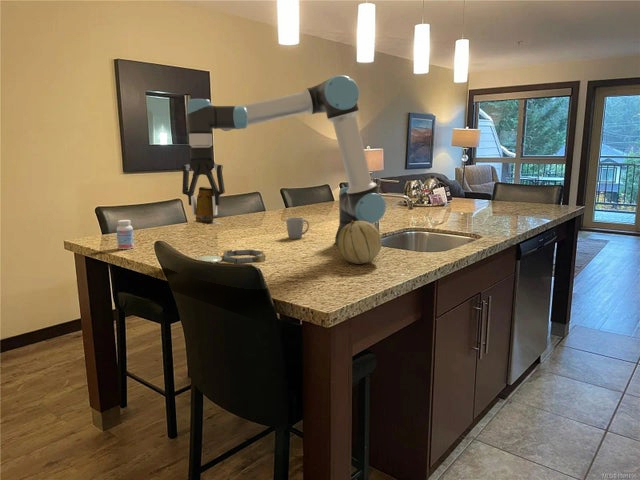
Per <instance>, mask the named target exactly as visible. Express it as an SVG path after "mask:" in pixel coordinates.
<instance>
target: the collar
mask: <svg viewBox="0 0 640 480" xmlns="http://www.w3.org/2000/svg"><path fill="white" fill-rule="evenodd" d="M237 255H239V256H240V255H241V256H242V255H253V256H252V257H251V256H249V257H234V256H237ZM223 261H224V262H228V263H235V264H241V263H244V264H245V263H254V262H258V263H259V262H260V263H261V262H264V261H266V254H265V253H264V251H262V250H256V249H238V250H232V249H230V248H229V249H228V248H227V249H224V250H223Z"/></svg>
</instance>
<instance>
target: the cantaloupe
mask: <svg viewBox="0 0 640 480" xmlns="http://www.w3.org/2000/svg"><path fill="white" fill-rule="evenodd" d="M382 243H383V242H382V236H381V234H380V232H379V230H378V228H377V227H376V226H374V225H373V224H371V223H369V222H367V221H351V223H349V224H347V225H346V226H345V227H344V228H343V229H342V230H341V231H340V233H339V236H338V244H337V246H338V247H337V248H338V251H339V252H340V254H341V256H342V257H343V258H344V259H345V260H346V261H348V262H349V263H352V264H357V265H361V264H362V265H363V264H367V263H370V262H372V261H374V259H375V258H377V257H378V255H379V253H380V251H381V248H382Z"/></svg>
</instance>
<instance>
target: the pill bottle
mask: <svg viewBox="0 0 640 480" xmlns="http://www.w3.org/2000/svg"><path fill="white" fill-rule="evenodd" d="M117 224H118V226H117V227H116V240H117V248H118V249H119V250H120V249H123V251H124V249H127V250H132V249H131V248H133V249H134V248H135V240H134V239H135V238H134V228H133V226H132V225H131V219H120V220H117Z"/></svg>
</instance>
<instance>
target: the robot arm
mask: <svg viewBox="0 0 640 480" xmlns="http://www.w3.org/2000/svg"><path fill="white" fill-rule="evenodd" d="M359 97H360V90H359V86H358V84H357V82H356V81H354V79H353V78H351V77H349V76H347V75H343V74H342V75H334V76H332V77H330V78H328V79H326V80H324V81H322V82H321V83H318V84H317V85H314V86H312V87H307V88H304V89H303V91H302V92H297V93H293V94H288V95H283V96H279V97H275V98H269V99H265V100H261V101H257V102H256V101H255V102H252V103H251V102H250V103H248V104H242V105H212V103H211V100H210V99H208V98H191V99H189V100H187V123H188V124H187V125H188V136H189V137H188V139H189V141H188V142H189V146H190V148H189V157H190V160H189V163H187V164H183V165H181V169H182V170H181V171H182V191H181V193H182V194H183V195H185V196H187V197H188V198H187V199H188V206H191V215H192V216H196V207H197V196H196V195H195V190H196V186H197V183H198V180H199V177H200V175H201V176H202V175H203V176H205V177H206V178H207V179H208V182H209V185H210V188H212V190H213V192H214V196H212V200H213V215H214V216H217V215H218V214H219V213H218V206H220V203H221V201H220V200H221V197H220V196H221V195H223V194H225V193H226V191H225V189H226V188H225V184H224V178H223V168H224V166H223V164H217V163H215V161H214V148H213V147H212V146H213V130H214V129H215V130H216V129H217V130H219V129H220V130H221V131H224V132H228V131H232V130H244V129H247V127H248V126H252V125H257V124H262V123H267V122H271V121H275V120H281V119H283V118H289V117H293V116H297V115H303V114H308V115H314V114H321V113H322V114H323V113H326V118H327V120H328V121H330V122H331V123H332V125H333V128H334V132H335V137H336V139H337V145H338V149H339V152H340V156H341V160H342V163H343V168H344V171H345V176H346V180H347V182H348V183H347V184H348V186H347V187H341V188H340V189H339V194H338V202H339V203H338V205H339V208H338V209H339V211H338V212H339V213H338V215H339V217H338V219H339V224H338V226H337V227H338V228H337V230H336V231H337V232H336V234H335V237H334V243H335V244H336V245H338V236H339V233H340V231H341V230H342V229H343V228H344V227H345V226H346V225H347V224H349V223H351V221H367V222H369V223H371V224H372V225H373V224H375V223H378V222H379V221H380V220H381V219H383V217H384V215H385V213H386V210H387V205H386V200H385V199H384V197H383V196H382V195H380V193H379V189H378V184H377V183H376V182H374V181H373V180H372V177H371V173H370V169H369V165H368V159H367V157H366V153H365V152H366V151H365V148H364V144H363V140H362V136H361V132H360V126H359V123H358V119H357V116H358V113H359V112H360V109H359V104H358V101H359V99H360V98H359ZM190 169H191V170H192V171H193V173H192V178H191V182H189V180H190V179H189V178H190ZM213 169H214V170H215V171H216V177H217V183H216V181H215V178H214V174H213V172H212V171H213ZM189 183H190V185H189ZM217 184H218V185H217Z"/></svg>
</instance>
